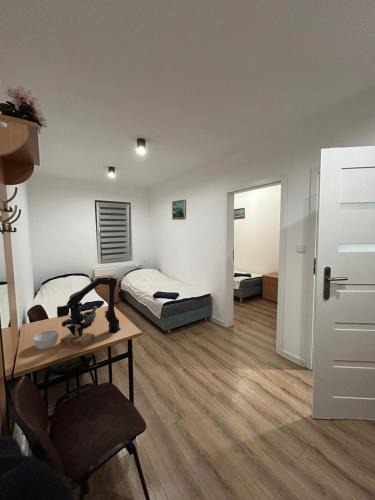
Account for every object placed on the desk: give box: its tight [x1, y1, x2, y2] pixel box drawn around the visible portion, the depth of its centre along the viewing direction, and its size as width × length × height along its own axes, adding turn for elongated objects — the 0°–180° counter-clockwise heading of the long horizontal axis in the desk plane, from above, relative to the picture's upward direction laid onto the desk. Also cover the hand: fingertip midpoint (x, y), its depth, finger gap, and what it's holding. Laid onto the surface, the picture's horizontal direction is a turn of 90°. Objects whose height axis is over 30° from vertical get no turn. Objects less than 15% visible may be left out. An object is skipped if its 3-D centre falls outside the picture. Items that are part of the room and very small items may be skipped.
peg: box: [75, 328, 80, 339], centre depth 138 cm, size 3×3×8 cm
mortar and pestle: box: [82, 306, 98, 324], centre depth 165 cm, size 11×9×12 cm
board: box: [59, 331, 95, 348], centre depth 138 cm, size 18×10×3 cm, turn 77°
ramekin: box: [33, 329, 59, 350], centre depth 134 cm, size 13×13×7 cm
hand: (77, 335), depth 138 cm, fingers open, 4 cm apart
